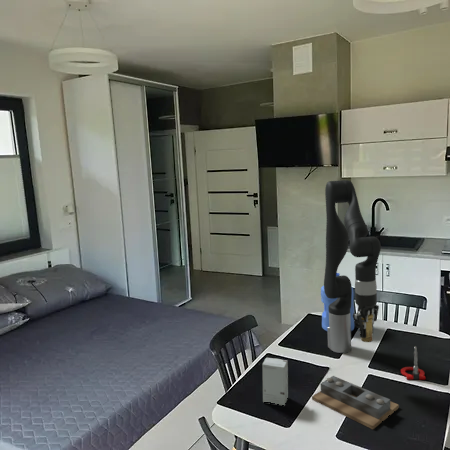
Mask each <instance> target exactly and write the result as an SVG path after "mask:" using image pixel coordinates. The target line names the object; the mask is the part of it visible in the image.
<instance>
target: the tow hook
mask: <svg viewBox="0 0 450 450" xmlns="http://www.w3.org/2000/svg"><path fill="white" fill-rule="evenodd" d="M417 348H418V347H417V346H414V351H413V366H405V367H402V368H401V369H400V373H401V375H403V376H404V377H405V378H406V380H412V381H422V380H423V381H425V380H426V376H425V371H424V370H423V369H420V368H419V366H418V350H417ZM407 371H412V373H411V374H410V373H408V372H407Z"/></svg>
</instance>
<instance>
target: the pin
mask: <svg viewBox="0 0 450 450" xmlns="http://www.w3.org/2000/svg"><path fill="white" fill-rule="evenodd" d="M372 318H373V315H369V317H368V322H367V323H366V338H362V337H360V340H361V341H362V342H364V343H371V342H373V334H372ZM361 319H363V320H365V318H361ZM362 323H363V322H362ZM363 324H364V323H363Z"/></svg>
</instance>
